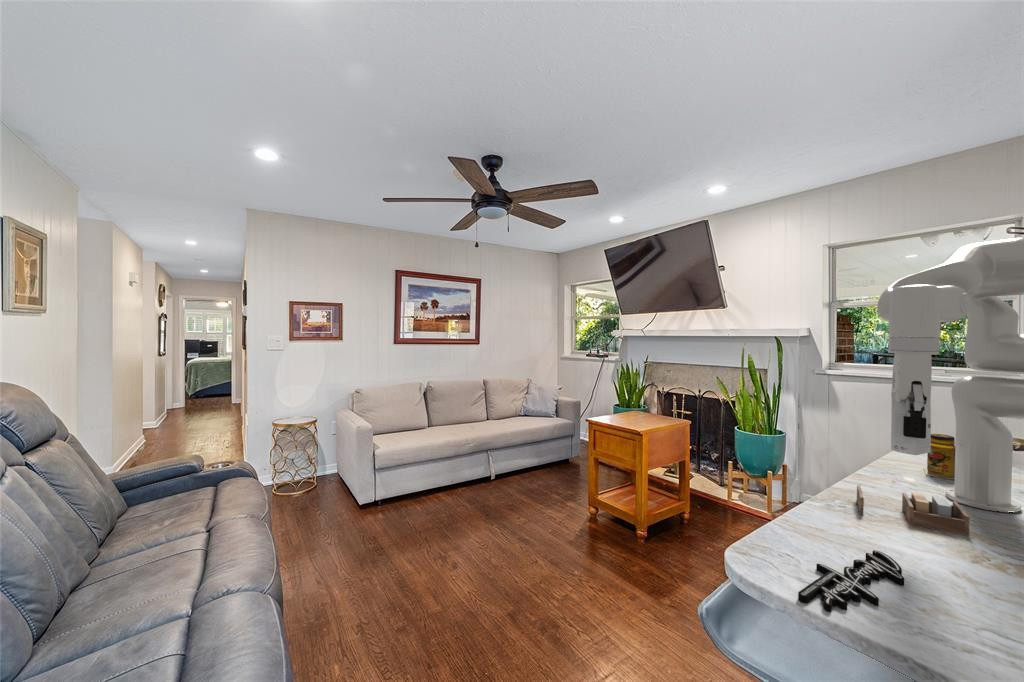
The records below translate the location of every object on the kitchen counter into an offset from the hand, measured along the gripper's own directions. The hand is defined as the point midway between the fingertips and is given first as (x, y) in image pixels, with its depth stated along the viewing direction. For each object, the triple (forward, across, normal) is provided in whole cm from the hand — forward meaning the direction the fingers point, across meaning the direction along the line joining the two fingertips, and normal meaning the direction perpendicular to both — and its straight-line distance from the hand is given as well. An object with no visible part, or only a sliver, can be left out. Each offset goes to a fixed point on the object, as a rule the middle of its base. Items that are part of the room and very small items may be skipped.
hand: (911, 432), depth 86 cm
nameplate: (+23, +25, -10) cm, 35 cm away
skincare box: (+4, 0, 0) cm, 4 cm away
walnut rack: (+22, -15, +2) cm, 27 cm away
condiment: (+22, -61, +15) cm, 67 cm away
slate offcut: (+22, -15, +7) cm, 28 cm away
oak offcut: (+22, -15, +4) cm, 27 cm away
